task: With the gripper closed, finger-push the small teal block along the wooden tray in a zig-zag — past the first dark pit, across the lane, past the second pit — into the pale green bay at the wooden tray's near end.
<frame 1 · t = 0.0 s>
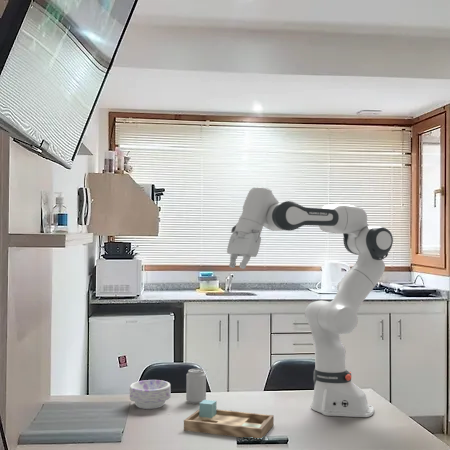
hand: (236, 267, 194), 52 cm above the table, tool tilted 20°, fingers open, 8 cm apart
can: (196, 402, 214), on the table
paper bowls: (150, 406, 208), on the table
wooden tray: (229, 427, 183), on the table
block: (207, 415, 190), point 2 cm above the table, touching wooden tray
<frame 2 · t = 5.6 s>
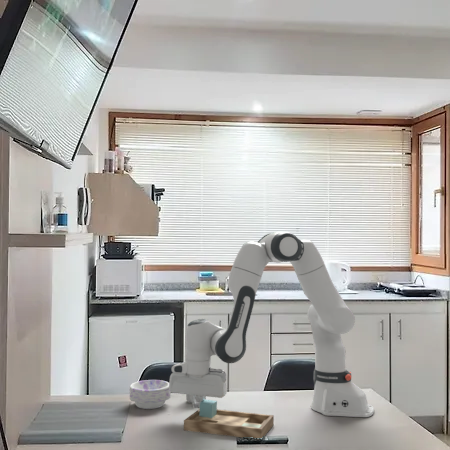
hand: (197, 408, 191), 4 cm above the table, tool pointing down, fingers closed
block: (208, 415, 190), point 2 cm above the table, touching wooden tray, gripper
everything else where it was.
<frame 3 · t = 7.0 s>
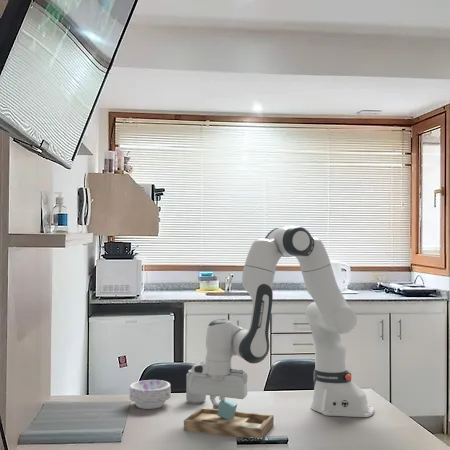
hand: (217, 409, 189), 4 cm above the table, tool pointing down, fingers closed
block: (225, 415, 188), point 3 cm above the table, tilted 15°, touching gripper
everything else where it was.
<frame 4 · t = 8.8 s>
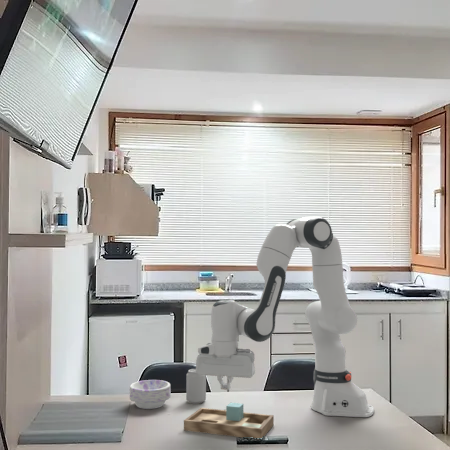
hand: (225, 389, 189), 11 cm above the table, tool pointing down, fingers closed
block: (234, 418, 187), point 2 cm above the table, touching wooden tray
everything else where it was.
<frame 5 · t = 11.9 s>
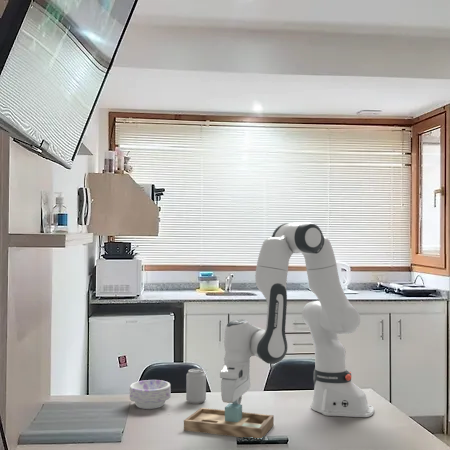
hand: (236, 409, 189), 4 cm above the table, tool pointing down, fingers closed
block: (233, 419, 185), point 2 cm above the table, touching wooden tray, gripper
everything else where it was.
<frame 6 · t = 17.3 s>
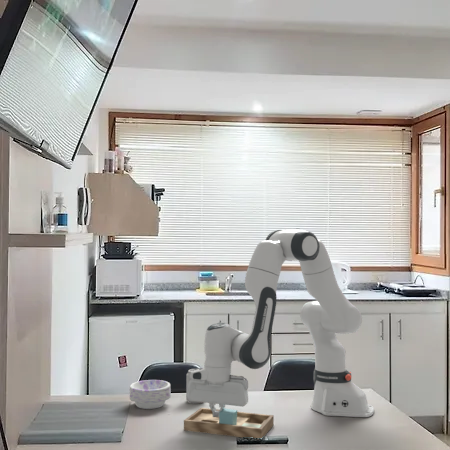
hand: (217, 417, 181), 4 cm above the table, tool pointing down, fingers closed
block: (227, 425, 179), point 2 cm above the table, touching wooden tray, gripper
everything else where it was.
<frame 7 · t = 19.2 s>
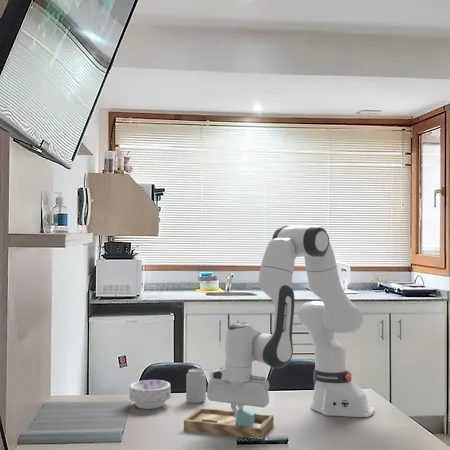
hand: (237, 417, 179), 5 cm above the table, tool pointing down, fingers closed, pressing on block
block: (243, 425, 177), point 3 cm above the table, tilted 14°, touching wooden tray, gripper
everything else where it was.
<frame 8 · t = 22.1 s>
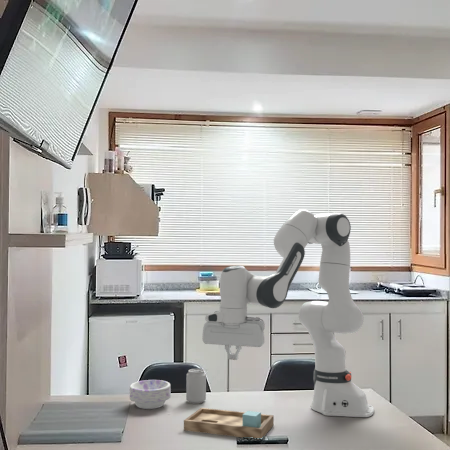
hand: (233, 359, 180), 23 cm above the table, tool pointing down, fingers closed
block: (251, 427, 177), point 2 cm above the table, touching wooden tray
everything else where it was.
at the end: block inside the target area (0.7 cm from its centre), point 2.0 cm above the table; block tilted 0° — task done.
